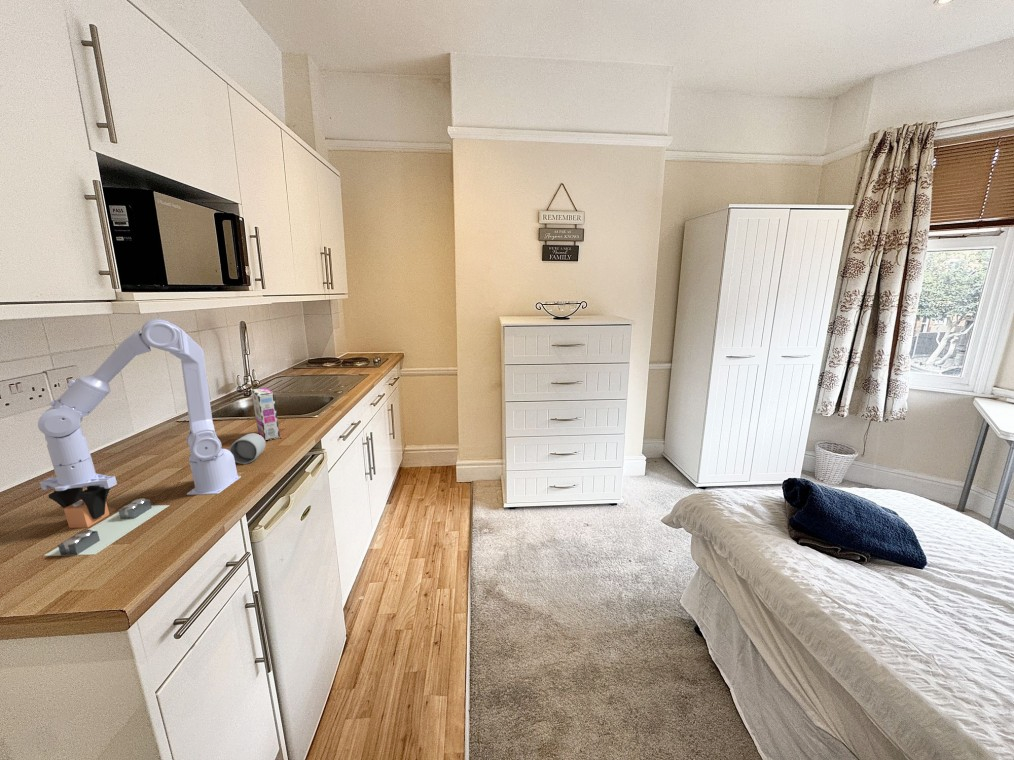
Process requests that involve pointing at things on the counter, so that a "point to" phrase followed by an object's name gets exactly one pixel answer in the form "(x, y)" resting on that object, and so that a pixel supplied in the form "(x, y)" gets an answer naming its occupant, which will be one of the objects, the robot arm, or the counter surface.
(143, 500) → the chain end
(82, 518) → the orange block with knobs
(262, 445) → the ceramic mug
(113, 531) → the mat
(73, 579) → the counter surface
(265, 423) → the candy bar box
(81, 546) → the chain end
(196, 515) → the counter surface
